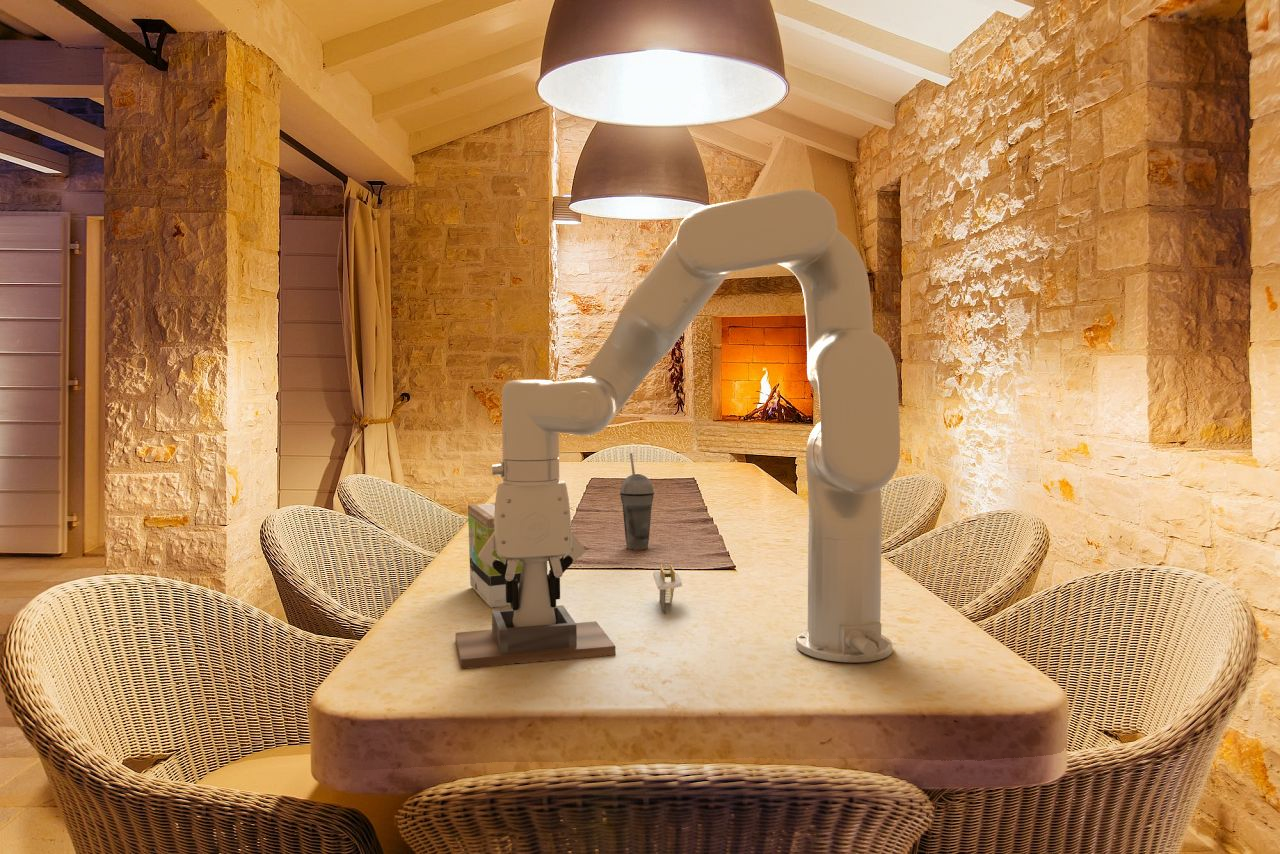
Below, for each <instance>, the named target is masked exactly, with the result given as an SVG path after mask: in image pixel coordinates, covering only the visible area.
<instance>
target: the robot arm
mask: <svg viewBox="0 0 1280 854" xmlns="http://www.w3.org/2000/svg"><path fill="white" fill-rule="evenodd" d="M775 265H779V266H781V267H784V268H786V269H787V270H789V271H790V272H791V273H793V275H795V277H796V279H797V281H798V283H799V284H800V287H801V289H802V294H803V295H802V296H803V298H804V300H803V301H804V311H805V319H806V320H805V321H806V322H805V324H806V351H807V352H806V353H807V355H806V357H807V359H806V360H807V361H806V367H807V368H806V372H807V373H806V374H807V379H808V381H809V383H810V387H812V389H813V390H814V391H815V393H816V394H818V399H819V400H818V402H819V422H818V423H817V424H816V425H815V426H814V428H813V429H812V431H811V432H810V435H809V437H808V439H807V443H806V449H805V465H806V466H805V468H806V480H807V496H808V498H807V499H808V532H807V533H808V537H807V539H808V540H807V541H808V542H807V630H803V631H802V632H800V633H798V634H797V635H796V637H795V647H796V648H797V650H799V651H800V652H801V653H803V654H804V655H806V656H809V657H812V658H815V659H818V660H824V661H829V662H835V663H836V662H837V663H852V664H853V663H857V664H859V663H868V662H869V663H870V662H876V661H880V660H883V659H886V658H887V657H889V656H891V654H892V653H893V642H892V641H891V640H890V639H889V638H888V637H887V636H885V635H883V634H882V623H881V616H882V615H881V609H882V608H881V606H882V605H881V604H882V599H881V598H882V597H881V596H882V589H881V588H882V536H883V506H882V505H883V504H882V494H881V489H882V488H883V487H885V486H886V485H887V484H888V483H889V482H890V481H891V480H892V478H893V477H894V476H895V474H896V471H897V468H898V467H899V462H900V455H901V427H900V425H901V423H900V402H899V401H900V400H899V380H898V371H897V365H896V359H895V357H894V354H893V352H892V349H891V348H890V346H889V344H888V343H887V342H886V341H885V340H884V338H882V337H881V336H880V335H879V334H877V333H875V332H874V320H873V308H872V299H871V298H872V297H871V289H870V287H871V286H870V282H869V276H868V271H867V268H866V266H865V262H864V260H863V258H862V257H861V255H860V253H859V251H858V249H857V248H856V247H855V246H854V244H853V243H852V242H851V240H850V239H849V238H848V237H847V236H846V235H845V234H844V233H843V232H842V231H840V229H839V228H838V217H837V213H836V210H835V208H834V206H833V204H832V203H831V202H830V201H829V199H828V198H827V197H825V196H824V195H823V194H821V193H818V192H816V191H814V190H810V189H800V188H799V189H790V190H785V191H781V192H775V193H770V194H764V195H758V196H755V197H754V196H753V197H749V198H744V199H738V200H732V201H731V200H730V201H726V202H719V203H714V204H710V205H705V206H701V207H699V208H697V209H694V210H692V211H691V212H690V213H689V214H688V215H686V216H685V217H684V218H683V220H682V221H681V222H680V225H679V226H678V228H677V231H676V236H674V239H673V240H672V241H671V242H670V244H669V245H668V246H667V248H665V250H664V252H663V253H662V255H660V258H659V259H658V260H657V261H656V263H654V265H653V267H651V269H650V271H649V272H648V273H647V274H646V275H645V277H644V279H643V280H642V281H641V282H640V283H639V284H638V286H637V287H636V288H635V290H634V291H633V292H632V293H631V295H629V296H628V299H627V300H626V302H625V303H624V305H623V306H622V309H621V310H620V313H619V314H618V317H617V319H616V322H615V324H614V326H613V328H612V329H611V332H610V334H609V335H608V337H607V338H606V340H605V342H604V343H603V345H602V346H601V347H600V349H599V350H598V352H597V353H596V354H595V356H594V357H593V358H592V360H591V361H590V362H589V363H588V364H587V366H586V368H585V369H584V370H583V371H582V372H581V374H580V375H579V377H577V378H575V379H568V380H559V381H552V380H549V379H513V380H509V381H507V382H506V383H504V385H503V386H502V389H501V436H502V437H501V441H502V443H501V444H502V458H501V461H500V463H497V464H491V475H497V476H500V477H501V478H502V481H499V482H498V483H497V489H496V493H495V502H494V503H495V511H494V532H493V534H492V535H491V537H490V538H489V540H488V541H487V542H486V544H485V545H484V547H483V548H482V550H481V551H480V553H479V558H480V560H482V561H483V562H485V563H486V564H488V565H490V566H491V567H493V568H494V569H495V570H496V571H497V572H499V573H500V574H501V575H502V576H503V577H504V578H505V580H506V602H507V603H510V604H511V606H510V607H511V609H513V610H517V609H518V581H517V579H516V575H515V570H516V566H517V561H518V559H535V558H549V559H550V560H548V561H547V562H548V565H549V570H548V571H549V572H547V574H548V581H549V588H550V602H551V607H556V606H557V600H560V599H561V578H562V576H563V575H564V573H565V572H566V570H568V568H569V567H570V566H571V565H572V564H573V563H574V562H575V561H576V560H578V559H579V558H580V557H582V556H583V555H584V554H585V552H586V549H585V548H584V546H583V545H582V543H581V542H580V541H579V539H577V537H576V535H575V534H574V533H573V531H572V520H571V517H572V516H571V508H570V499H569V492H568V487H567V483H566V481H564V480H562V479H561V480H560V436H559V435H560V433H561V434H568V435H578V436H591V435H595V434H598V433H600V432H601V431H603V430H604V429H606V428H607V427H608V426H609V425H610V424H611V423H612V422H613V420H614V419H615V418H616V416H617V415H618V414H619V413H620V411H621V410H622V408H623V407H624V406H625V404H626V403H627V402H628V400H629V399H630V398H631V396H632V395H633V394H634V393H635V391H636V390H637V389H638V387H639V386H640V385H641V383H642V382H643V381H644V379H645V378H647V376H648V374H650V372H651V371H652V370H653V369H654V368H655V366H656V365H657V364H658V362H660V360H661V359H663V358H664V357H665V356H666V355H667V354H668V353H669V352H670V351H671V350H672V349H673V347H674V346H675V344H676V343H677V342H678V341H679V340H680V339H681V337H682V336H683V334H684V333H685V331H686V330H687V329H688V328H689V326H691V324H692V323H693V321H694V319H696V317H697V316H698V314H700V312H701V310H702V309H703V308H704V307H705V306H706V304H707V303H708V301H709V300H710V299H711V298H712V296H713V295H714V294H715V292H716V291H718V289H719V287H720V286H721V285H722V283H724V281H725V280H726V279H727V277H728V276H729V274H730V273H731V272H736V271H737V272H738V271H744V270H751V269H757V268H761V267H769V266H775ZM494 549H495V550H496V553H497V555H498V556H499V557H501V558H503V559H505V564H504V563H503V562H502V561H500V560H499V559H497V558H496V557H494V556H493V555H492V552H493V551H494ZM560 557H561V558H560Z"/></svg>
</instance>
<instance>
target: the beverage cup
mask: <svg viewBox="0 0 1280 854" xmlns="http://www.w3.org/2000/svg"><path fill="white" fill-rule="evenodd" d="M629 458H630V464H631V465H630V466H631V473H632V474H630V475H629V476H627V477H626V478H625V479H624V480H623V482H622V483H621V486H620V492H619V495H620V502H621V505H622V515H623V527H624V535H625V536H624V537H625V543H626V548H627V550H632V549H633V551H634V550H636V551H637V550H638V551H639V550H642V551H643V550H646V549H649V542H650V534H651V520H652V506H653V501H654V495H655V491H654V486H653V484H652V482H651V480H650V479H649V478H648V477H647V476H645V475H643V474H639V473H637V474H636V471H635V465H634V464H635V463H634V458H633V453H632V452H631V453H629Z"/></svg>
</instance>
